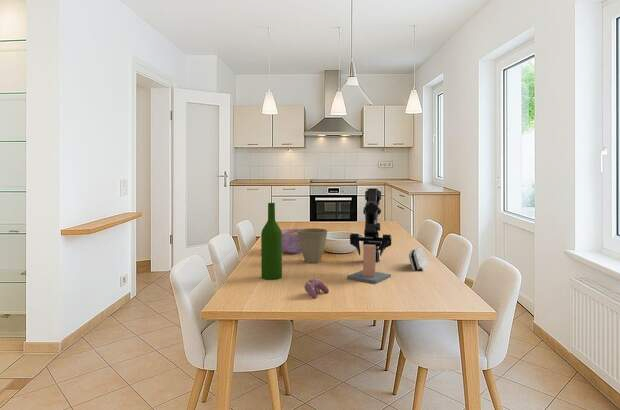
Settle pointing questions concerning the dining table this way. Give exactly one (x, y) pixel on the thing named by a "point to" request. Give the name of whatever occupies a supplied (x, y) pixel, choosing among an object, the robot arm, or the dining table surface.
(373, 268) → the terracotta sleeve
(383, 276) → the charcoal plate
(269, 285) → the dining table surface
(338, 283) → the dining table surface
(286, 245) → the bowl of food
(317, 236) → the plant pot
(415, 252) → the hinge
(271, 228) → the wine bottle
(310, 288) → the video game controller
